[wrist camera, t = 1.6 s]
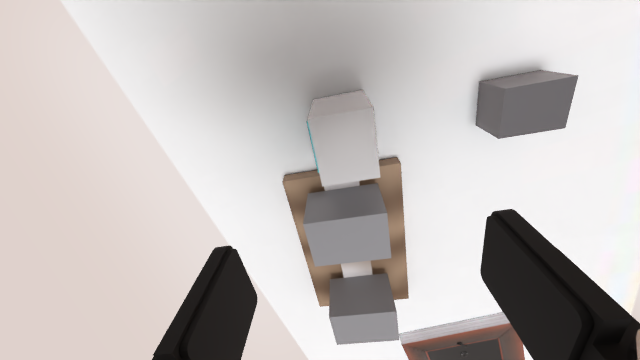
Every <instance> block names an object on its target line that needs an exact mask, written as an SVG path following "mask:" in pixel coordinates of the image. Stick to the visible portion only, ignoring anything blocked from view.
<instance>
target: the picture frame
mask: <svg viewBox="0 0 640 360" xmlns="http://www.w3.org/2000/svg"><path fill="white" fill-rule="evenodd" d="M399 335H400V340H401V344H402V346H403V348H404V350H405V352H406V354H407V356H408V358H409V360H525V358H524V350H523V342H522V341H521V339H520V338H519V336H518V335H517V333H516V331H515V330H514V328H513V327H512V325H511V324H510V322H509V320H508V319H507V317H506V316H505V314H504V313H503V312H502V313H497V314H493V315H488V316H483V317H478V318H473V319H468V320H463V321H459V322H454V323H449V324H444V325H439V326H434V327H430V328H425V329H420V330H415V331H410V332H405V333H400V334H399Z"/></svg>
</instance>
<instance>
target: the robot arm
mask: <svg viewBox="0 0 640 360" xmlns="http://www.w3.org/2000/svg"><path fill="white" fill-rule="evenodd" d="M481 276H482V279H483V281H484V283H485V284H486V286H487V287H488V289H489V291H490V292H491V294H492V295H493V297H494V298H495V300H496V302H497V303H498V305H499V306H500V308H501V309H502V311H503V313H504V314H505V316H506V317H507V319H508V320H509V322H510V324H511V325H512V327H513V328H514V330H515V331H516V333H517V335H518V336H519V338H520V339H521V341H522V342H523V344H524V346H525V347H526V349H527V350H528V352H529V353H530V355H531V357H532V358H533V360H640V323H639V322H638V321H636V320H635V319H634V318H633V317H632V316H631V315H630V314H629V313H628V312H627V311H625V310H624V309H623V308H622V307H621V306H620V305H619V304H618V303H617V302H616V301H614V300H613V299H612V298H611V297H610V296H609V295H608V294H607V293H606V292H605V291H604V290H602V289H601V288H600V287H599V286H598V285H597V284H596V283H595V282H594V281H593V280H591V279H590V278H589V277H588V276H587V275H586V274H585V273H584V272H583V271H582V270H580V269H579V268H578V267H577V266H576V265H575V264H574V263H573V262H572V261H571V260H570V259H568V258H567V257H566V256H565V255H564V254H563V253H562V252H561V251H560V250H558V249H557V248H556V247H554V246H553V245H552V244H551V243H550V242H549V241H548V240H547V239H546V238H544V237H543V236H542V235H541V234H540V233H539V232H538V231H537V230H536V229H535V228H534V227H532V226H531V225H530V224H529V223H528V222H527V221H526V220H525V219H524V218H523V217H522V216H520V215H519V214H518V213H517V212H516V211H515V210H513V209H508V210H501V211H494V212H493V213H492V214H491V216H488V217H487V220H486V229H485V237H484V246H483V254H482V263H481ZM256 305H257V294H256V292H255V290H254V287H253V285H252V283H251V281H250V278H249V276H248V274H247V272H246V269H245V267H244V265H243V263H242V261H241V258H240V256H239V254H238V252H237V250H236V249H233V248H232V247H231V246H223V247H217V248H215V249H214V250H213V251H212V253H211V255H210V256H209V258H208V260H207V262H206V264H205V265H204V267H203V269H202V270H201V272H200V274H199V276H198V277H197V279H196V281H195V283H194V284H193V286H192V288H191V290H190V291H189V293H188V295H187V297H186V299H185V300H184V302H183V304H182V305H181V307H180V309H179V311H178V312H177V314H176V316H175V318H174V320H173V321H172V323H171V325H170V326H169V328H168V330H167V331H166V333H165V335H164V337H163V339H162V340H161V342H160V344H159V345H158V347H157V349H156V351H155V353H154V354H153V355H154V357H153V359H152V360H241V357H242V353H243V350H244V346H245V343H246V340H247V336H248V333H249V329H250V326H251V322H252V319H253V315H254V312H255V308H256Z"/></svg>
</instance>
